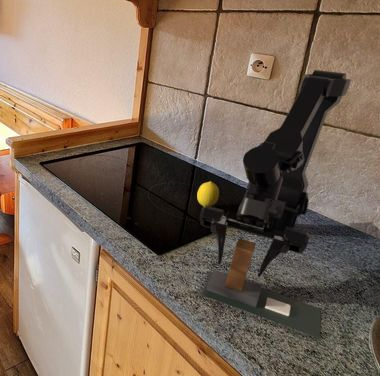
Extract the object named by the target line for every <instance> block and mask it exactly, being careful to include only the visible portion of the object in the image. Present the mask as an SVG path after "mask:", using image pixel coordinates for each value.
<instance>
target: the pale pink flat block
mask: <svg viewBox="0 0 380 376" xmlns="http://www.w3.org/2000/svg"><path fill="white" fill-rule="evenodd" d="M290 307H291V305H288V304H285V303H283V302H280V301H277V300H274V299H271V298H268V297H267V300H266V305H265V308H267V309H269V310H272V311H275V312H278V313H281V314H283V315H286V316H289V314H290Z"/></svg>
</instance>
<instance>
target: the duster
mask: <svg viewBox="0 0 380 376" xmlns="http://www.w3.org/2000/svg"><path fill="white" fill-rule="evenodd" d="M256 244H257V243H256V242H253V241H250V240H247V239H243V238H238V240H237V242H236V245H235V247H234V251H233V255H232V259H231V263H230V266H229V270H228V273H227V272H224V271H220V270H217V269H213V271H212V272H213V273H212V275H211V278H210V280H209V282H208V286H207V290H208V291H211V292H214V293H216V294H219V295H222V296H225V297H228V298H230V299H233V300H236V301H239V302H242V303H244V304H247V305H250V306H253V307H256V305H257V302H258V299H259V295H260V291H261V289H262V285H263V284H260V283H256V282H254V281H250V280H248V279H247V275H248V272H249V269H250V265H251V262H252V258H253V255H254V251H255V247H256Z"/></svg>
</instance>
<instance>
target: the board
mask: <svg viewBox="0 0 380 376" xmlns="http://www.w3.org/2000/svg"><path fill="white" fill-rule="evenodd" d="M212 273H213V271H211V272H210V274H209V276H208V278H207V281H206V283H205V285H204V287H203V290H202V291H201V294H200V295H201V296H203V297H205V298H208V299H211V300H214V301H216V302H219V303H222V304H224V305H227V306H230V307H233V308H236V309H239V310H241V311H242V312H243V311H244V312H246V313H249V314H251V315H255V316H257V317H260V318H263V319H265V320H268V321H271V322H274V323H276V324H279V325H282V326H284V327H287V328H290V329H293V330H295V331H298V332H300V333H304V334H305V335H309V336H312V337H314V338H317V339H321V321H322V319H321V318H322V308H321V307H317V306H315V305H312V304H309V303H305V302H302V301H299V300H297V299H294V298H292V297H291V298H290V297H288V296H285V295H282V294H279V293H275V292H273V291H271V290H267V289H264V288H261V291H260V295H259V299H258V302H257V305H256V307H253V306H250V305H247V304H244V303H242V302H239V301H236V300H233V299H230V298H228V297H225V296H222V295H219V294H216V293H214V292H211V291H208V290H207V286H208V282H209V280H210V278H211V275H212ZM267 297H268V298H271V299H274V300H277V301H280V302H283V303H285V304H288V305H291V307H290V314H289V316H286V315H283V314H281V313H278V312H275V311H272V310H269V309H267V308H265V305H266V300H267Z"/></svg>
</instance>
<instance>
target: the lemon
mask: <svg viewBox="0 0 380 376" xmlns="http://www.w3.org/2000/svg"><path fill="white" fill-rule="evenodd" d="M219 195H220V190H219V187H218V186H217V184H215V183H214V182H213V181H207V182H203V183H202V184H201V185H200V186H199V188H198V190H197V194H196V196H197V197H196V198H197V201H198V203H199V205H201V206H202V207H205V206H210V207H214V205H216V203H217V202H218V200H219V197H220V196H219Z"/></svg>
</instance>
